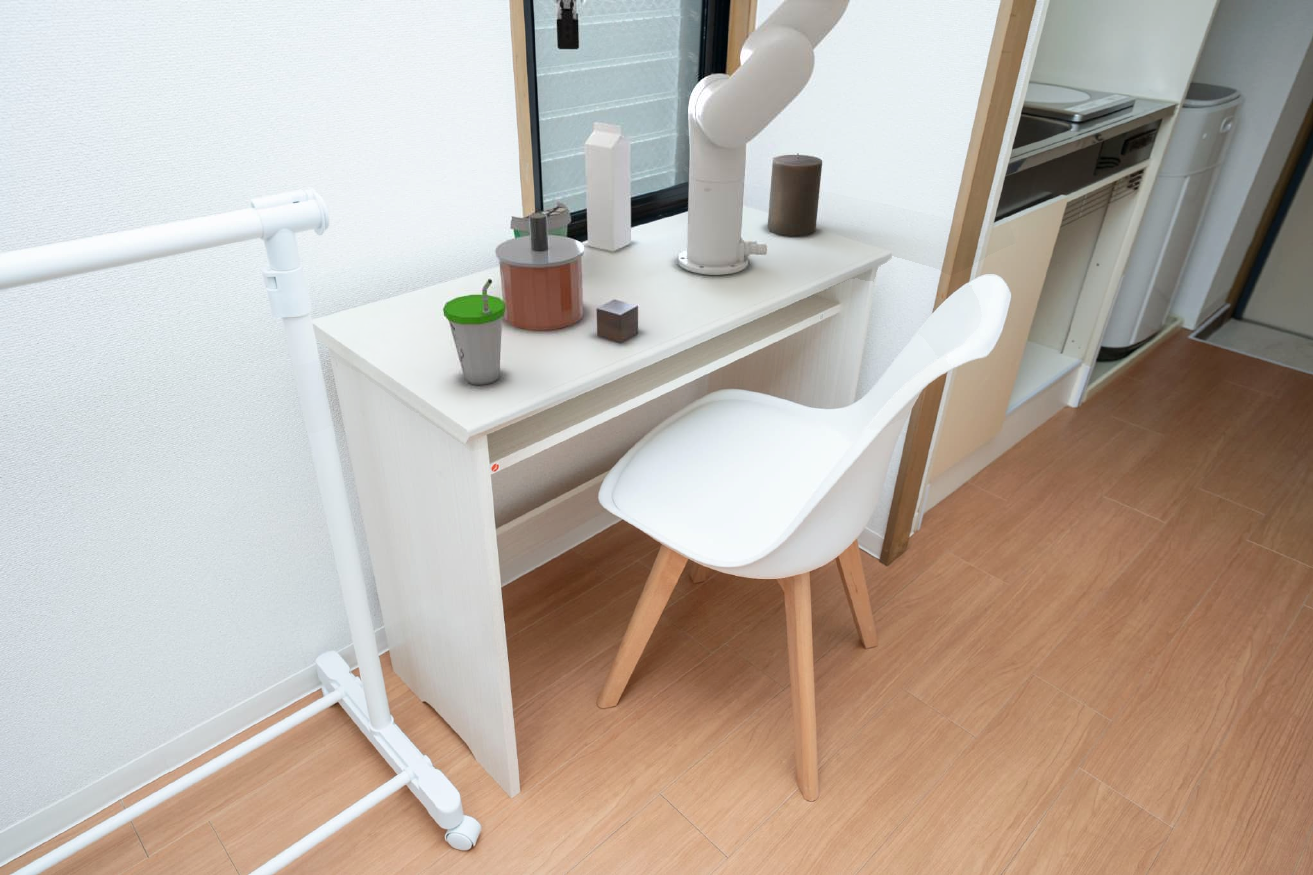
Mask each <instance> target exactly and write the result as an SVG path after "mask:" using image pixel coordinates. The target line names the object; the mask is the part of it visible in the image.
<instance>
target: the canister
mask: <svg viewBox="0 0 1313 875" xmlns="http://www.w3.org/2000/svg"><path fill="white" fill-rule="evenodd" d="M498 264H499V273H500V274H499V275H500V284H501V285H500V286H501V296H502V301H503V302H505V307H506V310H505V313H504V319H505V321H506V322H507V323H508V324H509V325H511V326H514V327H516V328H518V329H524V330H529V331H552V330H553V331H554V330H558V329H564V328H567V327H569V326H572V325H574V324H576V323H578V322H579V321H580V320H581V319H582V318H583V316H584V296H583V295H584V294H583V267H582V257H580V258H579V259H577V260H576V261H573V262H571V263H567V264H564V265H559V266H552V267H538V268H533V267H520V266H514V265H510V264H507V263H504V262H502V261H500V260H499V259H498Z"/></svg>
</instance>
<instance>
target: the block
mask: <svg viewBox="0 0 1313 875" xmlns="http://www.w3.org/2000/svg"><path fill="white" fill-rule="evenodd" d="M637 334H639V305H637V304H633V303H629V302H626V301H622V300H618V299H611V300H610V301H608V302H606V303H604V304H602V305H600V306H598V307H596V335H597V337H598V338H599V337H600V338H603V339H607V340H610V341H613V342H616V343H618V344H619V343H620V344H622V343H624V342H626V341H628V340H629V339H631V338H632V337H634V336H636V335H637Z"/></svg>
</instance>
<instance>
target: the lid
mask: <svg viewBox="0 0 1313 875" xmlns="http://www.w3.org/2000/svg"><path fill="white" fill-rule="evenodd" d="M533 213H534V214H532V213H531V214H529V215H528V216H529V225H530V236H524V237H518V238H515V237H514V238H511V239H508V240H505V241H503V242H501V243H500V244H498V245H497V246H496V248H495V252H494V254H495V257H496V259H498V261H499V260H500V261H502V262H504V263H507V264H510V265H514V266H520V267H533V268H538V267H552V266H559V265H564V264H567V263H571V262H573V261H576V260H577V259H579V258H580V257H581V258H582V257H583V256H584V254H585V246H584V245H583V243H582V242H581V241H579V240H576V239H574V238H572V237H568V236H567V237H563V236H555V235H548V228H547V215H546V214H543V213H535V212H533Z"/></svg>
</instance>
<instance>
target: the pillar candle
mask: <svg viewBox="0 0 1313 875" xmlns="http://www.w3.org/2000/svg"><path fill="white" fill-rule="evenodd" d="M822 172H823V160H822V159H821V158H819V157H817V156H813V155H805V154H799V153H798V152H797V154H784V155H778V156H775V157H772V165H771V177H770V190H769V201H768V215H767V216H768V217H767V229H768V231H769V232H770V233H773V234H778V235H781V236H786V237H802V236H803V237H804V236H810V235H812V234H814V233H815V232H816V231H817V230H816V229H817V220H818V211H819V200H820V191H821V190H820V189H821V180H822V179H821V178H822Z"/></svg>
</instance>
